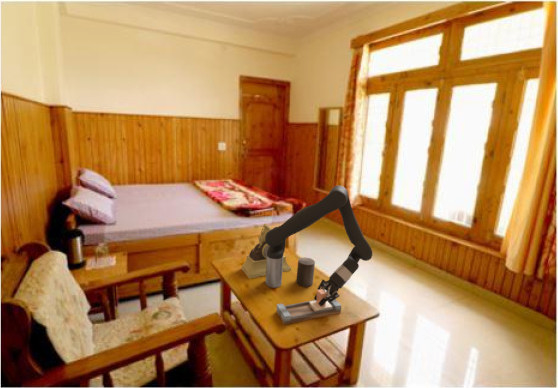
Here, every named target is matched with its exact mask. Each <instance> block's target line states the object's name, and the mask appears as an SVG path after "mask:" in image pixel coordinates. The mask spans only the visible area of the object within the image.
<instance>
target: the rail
mask: <svg viewBox="0 0 558 388" xmlns="http://www.w3.org/2000/svg"><path fill="white" fill-rule="evenodd" d="M310 301H315V299H313V300H308V301H302V302H297V303H292V304H287V305H284V303H277V304H276V313H277V316H278V317H279V319H280V320H281V321H282V324H283V325H289V324H294V323H299V322H303V321H307V320H313V319H317V318H321V317H326V316H330V315H335V314H339V313H341V312H342V305H341V303H340V302H339V301H338V300H337V298H336V299H335V300H333V301H332V302H329V301H328V302H329V303H330V304H331V306H332V308H329V309H325V310H320V311H314V310H313V308H312V307H311V306H310V305H309V302H310Z"/></svg>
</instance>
